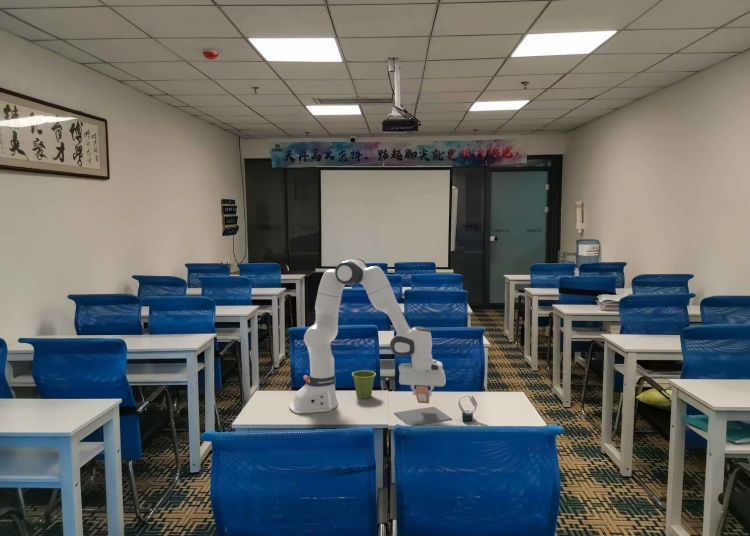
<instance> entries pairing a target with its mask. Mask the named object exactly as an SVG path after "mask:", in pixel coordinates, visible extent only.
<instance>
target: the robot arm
mask: <svg viewBox="0 0 750 536" xmlns="http://www.w3.org/2000/svg"><path fill="white" fill-rule="evenodd" d="M390 283H391V282H390V281H389V279H388V277H387V276H386V274H385V272H384V270H383V269H382V268H381V267H380V266H378V265H373V266H372V265H371V266H369V267H368V265H367V263H366V262H365V261H364V260H362V259H359V258H350V259H346V260H344V261H341V262H339V264H338V265H336V268H335V269H330V268H329V269H326V271H324V272H323V275H322V277H321V279H320V282H319V285H318V290H317V294H316V298H315V299H316V300H315V304H314V305H315V306H314V310H315V319H314V321H315V322H314V323H313V324H312V325H311V326H309V327H308V328H307V329H306V331H305V333H304V335H303V342H304V344H305V346H306V347H307V351H308V357H309V369H310V372H309V373H310V374H309V376H308V375H306V374H305V375H304V376H303V378H302V379H303V380H304V381H305V384H304V385H303V386H302V387H301V388H300V389H298V390H297V391H296V392H295V393H294V394H295V395H294V399H293V401H290V403H289V404H288V405H289V406H288V407H289V410H290V409H291V410H290V411H291V412H292V411H293V412H292V413H295V414H296V415H297V414H309V413H323V412H331V411H332V410H333V409H334V408H337V406H339V401H338V399H337V394H336V384H337V383H336V381H337V379H336V374H335V357H334V355H333V353H332V348H331V342H333V341H334V340H335V339H336V338H337V336H338V332H339V327H338V326H339V325H338V324H339V312H340V311H339V310H340V305H341V301H342V296H343V295H342V294H343V291H344V287H345V286H351V285H359V284H360V285H362V286H363V287H364V289H365V291H366V294H367V297H368V300H369V301H370V303H371V305H372V306H373V307H374V308H375V309H376V310H378V311H382V312H383V313H385V314H386V315H387V316H388V317H389V319H390V321H391V323H392V326H393V327H394V329H395V332H396V335H395V336H394V337H392V339H391V340H390V343H389V348H390V351H391V352H392V354H393V355H395V356H397V357H407V356H410V357H411V362H409V363H405V362H402V363H400V364H399V365H398V371H399V377H398V383H399V385H407V386H410V389H411V391H412V395H413V396H416V388H415V386H428V387H430V390H428V396H431V397H432V392H433V390H434V389H435V387H442V388H443V387H445V386H446V382H447V381H446V373H445V370H444V368H443V362H441V361H439V360H436V359H433V354H432V348H433V340H432V339H433V338H432V333H431V331H430V329H429V328H428V327H424V326H421V325H420V326H419V325H418V326H414V327H411V325H409V323H408V320H407V319H406V317H405V315H404V313H403V311H402V308H401V307H400V305H399V302H398V301H397V298H396V296H395V295H396V294H395V293H394V291H393V287H392V285H391V284H390Z"/></svg>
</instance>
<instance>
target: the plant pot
mask: <svg viewBox="0 0 750 536" xmlns="http://www.w3.org/2000/svg"><path fill="white" fill-rule="evenodd" d="M376 373H377V372H374V371H373V370H371V371H370V370H356V371H353V372H352V373H351V376H352V379H353V383H354V389H355V394H356V397H357V398H358V399H368V398H371V397H372V393H373V389H374V381H375V377H376V375H377V374H376Z"/></svg>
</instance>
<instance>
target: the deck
mask: <svg viewBox="0 0 750 536" xmlns="http://www.w3.org/2000/svg"><path fill="white" fill-rule="evenodd" d="M415 390H416V395H415V396H416V401H417V403H418V404H430V398H431V397H430V396H428V391H429V386H421V385H415Z"/></svg>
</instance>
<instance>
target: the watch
mask: <svg viewBox="0 0 750 536" xmlns="http://www.w3.org/2000/svg"><path fill="white" fill-rule="evenodd" d="M465 397H468V398H469V400H470V403H471V404H472V406H473V407H474V408H473V409H472V410H465V409H464V408H463V407H462V404H461V400H462V398H465ZM457 404H458V407H459V409H460V411H461V419H462V420H461V422H462V423H468V422H469V423H470V422H473V423H474V413H475V412H476V410H477V407H478V403H477V400H476V399H475V397H474V396H473V395H472V394H469V393H464V394H462V395H461V396H459V398H458V403H457Z"/></svg>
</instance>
